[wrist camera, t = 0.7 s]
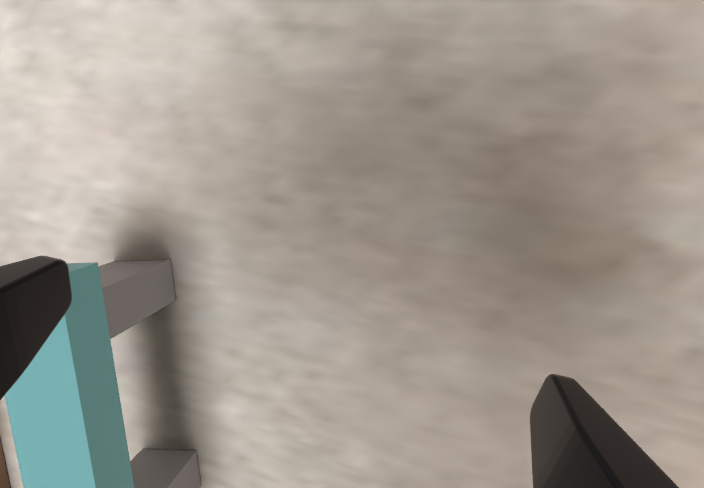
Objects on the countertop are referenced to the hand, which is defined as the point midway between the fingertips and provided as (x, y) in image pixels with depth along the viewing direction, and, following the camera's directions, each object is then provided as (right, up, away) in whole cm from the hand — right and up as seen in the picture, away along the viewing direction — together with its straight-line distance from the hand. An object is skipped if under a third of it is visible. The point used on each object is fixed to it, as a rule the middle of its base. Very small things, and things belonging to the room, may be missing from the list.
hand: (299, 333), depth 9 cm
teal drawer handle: (-9, -5, +16) cm, 19 cm away
